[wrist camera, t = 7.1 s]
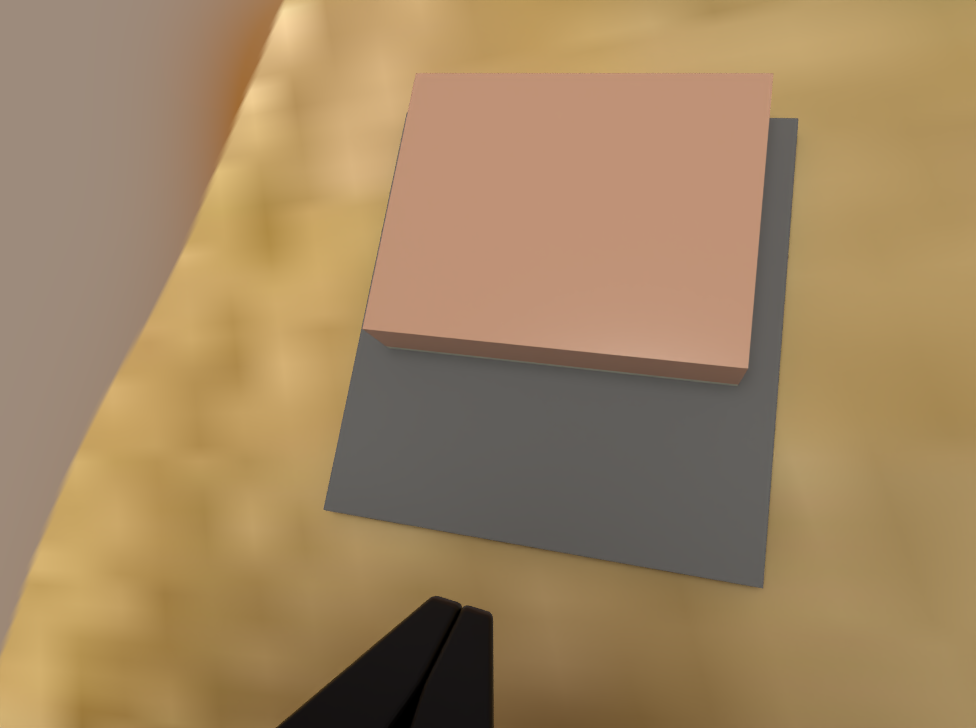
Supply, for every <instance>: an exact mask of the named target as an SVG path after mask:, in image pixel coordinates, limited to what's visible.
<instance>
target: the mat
mask: <svg viewBox="0 0 976 728" xmlns="http://www.w3.org/2000/svg"><path fill="white" fill-rule="evenodd" d="M407 114H408V112H407ZM407 114H406V118H407ZM405 123H406V119H405ZM404 128H405V124H404ZM797 130H798V118H769V129H768V141H767V153H766V165H765V176H764V188H763V200H762V212H761V223H760V235H759V247H758V258H757V270H756V282H755V294H754V305H753V317H752V329H751V341H750V352H749V364H748V370H747V371H746V373H745V375H744V376H743V378H742V380H741V381H740V383H739V385H738V386H731V385H721V384H712V383H703V382H694V381H685V380H676V379H667V378H657V377H648V376H639V375H630V374H621V373H612V372H603V371H594V370H584V369H575V368H566V367H557V366H548V365H539V364H530V363H520V362H511V361H502V360H493V359H484V358H475V357H466V356H456V355H447V354H438V353H429V352H420V351H411V350H402V349H392V348H388V347H386V346H385V345H384V344H382V343H381V342H380V341H378V340H377V339H375V338H374V337H373V336H371V335H370V334H369V333H367V332H366V331H365V330H363V329H361V334H360V338H359V343H358V348H357V353H356V357H355V362H354V367H353V372H352V377H351V381H350V386H349V391H348V396H347V400H346V405H345V410H344V415H343V419H342V424H341V429H340V434H339V439H338V443H337V448H336V453H335V458H334V462H333V467H332V472H331V477H330V481H329V486H328V491H327V496H326V500H325V505H324V510H327V511H332V512H338V513H344V514H349V515H355V516H360V517H366V518H372V519H377V520H383V521H388V522H394V523H400V524H405V525H411V526H417V527H422V528H428V529H433V530H439V531H445V532H450V533H456V534H461V535H467V536H473V537H478V538H484V539H489V540H495V541H501V542H506V543H512V544H518V545H523V546H529V547H534V548H540V549H546V550H551V551H557V552H562V553H568V554H574V555H579V556H585V557H590V558H596V559H602V560H607V561H613V562H619V563H624V564H630V565H635V566H641V567H647V568H652V569H658V570H663V571H669V572H675V573H680V574H686V575H691V576H697V577H703V578H708V579H714V580H720V581H725V582H731V583H736V584H742V585H748V586H753V587H759V588H763V581H764V567H765V554H766V541H767V528H768V514H769V501H770V488H771V475H772V461H773V448H774V435H775V421H776V408H777V395H778V382H779V368H780V355H781V342H782V329H783V315H784V302H785V289H786V276H787V262H788V249H789V236H790V222H791V209H792V196H793V183H794V169H795V156H796V143H797ZM403 133H404V129H403ZM403 133H402V137H403ZM401 142H402V138H401ZM400 147H401V143H400ZM399 152H400V148H399ZM399 152H398V156H399ZM397 161H398V157H397ZM396 166H397V162H396ZM395 171H396V167H395ZM394 176H395V172H394ZM394 176H393V180H394ZM392 185H393V181H392ZM391 190H392V186H391ZM390 195H391V191H390ZM390 195H389V199H390ZM388 204H389V200H388ZM387 209H388V205H387ZM386 214H387V210H386ZM386 214H385V219H386ZM385 219H384V223H385ZM383 228H384V224H383ZM382 233H383V229H382ZM381 238H382V234H381ZM381 238H380V242H381ZM379 247H380V243H379ZM378 252H379V248H378ZM377 257H378V253H377ZM377 257H376V261H377ZM375 266H376V262H375ZM374 271H375V267H374ZM373 276H374V272H373ZM373 276H372V281H373ZM372 281H371V285H372ZM370 290H371V286H370ZM369 295H370V291H369ZM369 295H368V300H369ZM368 300H367V304H368ZM366 309H367V305H366ZM365 314H366V310H365ZM364 319H365V315H364ZM364 319H363V324H364ZM363 324H362V328H363Z"/></svg>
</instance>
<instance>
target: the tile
mask: <svg viewBox="0 0 976 728" xmlns="http://www.w3.org/2000/svg"><path fill="white" fill-rule="evenodd" d="M772 83H773V73H416V75H415V80H414V85H413V90H412V94H411V99H410V104H409V109H408V114H407V118H406V123H405V128H404V133H403V137H402V142H401V147H400V152H399V156H398V161H397V166H396V171H395V176H394V180H393V185H392V190H391V195H390V199H389V204H388V209H387V214H386V219H385V223H384V228H383V233H382V238H381V242H380V247H379V252H378V257H377V261H376V266H375V271H374V276H373V281H372V285H371V290H370V295H369V300H368V304H367V309H366V314H365V319H364V324H363V328H362V329H363V330H365V331H366V332H367V333H369V334H370V335H371V336H373V337H374V338H375V339H377V340H378V341H380V342H381V343H382V344H384V345H385V346H386V347H388V348H392V349H402V350H411V351H420V352H429V353H438V354H447V355H456V356H466V357H475V358H484V359H493V360H502V361H511V362H520V363H530V364H539V365H548V366H557V367H566V368H575V369H584V370H594V371H603V372H612V373H621V374H630V375H639V376H648V377H657V378H667V379H676V380H685V381H694V382H703V383H712V384H721V385H731V386H738V385H739V383H740V381H741V380H742V378H743V376H744V375H745V373H746V371H747V370H748V364H749V352H750V341H751V329H752V317H753V305H754V294H755V282H756V270H757V258H758V247H759V235H760V223H761V212H762V200H763V188H764V176H765V165H766V153H767V141H768V129H769V118H770V106H771V94H772Z"/></svg>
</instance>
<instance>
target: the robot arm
mask: <svg viewBox="0 0 976 728" xmlns="http://www.w3.org/2000/svg"><path fill="white" fill-rule="evenodd" d="M276 728H494V692H493V616H492V614H491V613H490V612H488V611H485V610H482V609H478V608H475V607H472V606H464V607H463V608H462V605H461V604H460V603H458V602H455V601H452V600H449V599H446V598H442V597H439V596H434V597H431V598H430V599H428V600H427V601H426V602H425V603H423V604H422V605H421V606H420V607H419V608H417V609H416V610H415V611H414V612H413V613H412V614H410V615H409V616H408V617H407V618H406V619H404V620H403V621H402V622H401V623H400V624H398V625H397V626H396V627H395V628H394V629H393V630H391V631H390V632H389V633H388V634H387V635H385V636H384V637H383V638H382V639H381V640H380V641H378V642H377V643H376V644H375V645H374V646H372V647H371V648H370V649H369V650H368V651H366V652H365V653H364V654H363V655H362V656H361V657H359V658H358V659H357V660H356V661H355V662H353V663H352V664H351V665H350V666H349V667H347V668H346V669H345V670H344V671H343V672H342V673H340V674H339V675H338V676H337V677H336V678H334V679H333V680H332V681H331V682H330V683H328V684H327V685H326V686H325V687H324V688H323V689H321V690H320V691H319V692H318V693H317V694H315V695H314V696H313V697H312V698H311V699H309V700H308V701H307V702H306V703H305V704H304V705H302V706H301V707H300V708H299V709H298V710H296V711H295V712H294V713H293V714H292V715H290V716H289V717H288V718H287V719H286V720H285V721H283V722H282V723H281V724H280V725H279V726H277V727H276Z"/></svg>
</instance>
